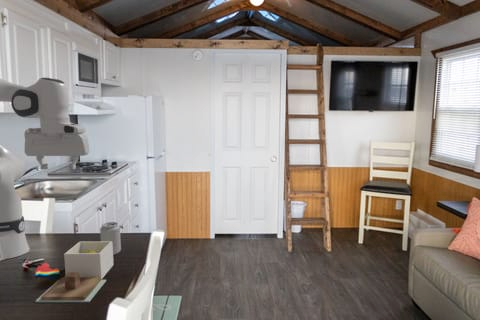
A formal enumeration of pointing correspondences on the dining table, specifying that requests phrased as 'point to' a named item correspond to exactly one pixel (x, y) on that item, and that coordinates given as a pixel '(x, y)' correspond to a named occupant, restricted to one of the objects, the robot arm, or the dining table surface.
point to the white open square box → (90, 259)
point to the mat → (76, 300)
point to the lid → (72, 287)
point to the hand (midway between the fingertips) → (58, 169)
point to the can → (111, 235)
